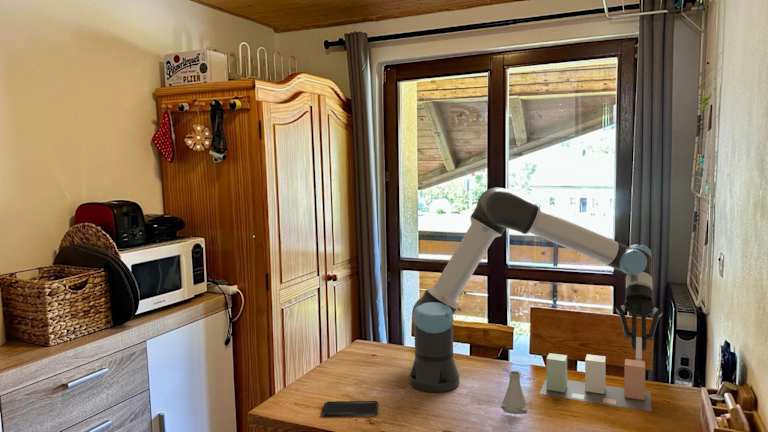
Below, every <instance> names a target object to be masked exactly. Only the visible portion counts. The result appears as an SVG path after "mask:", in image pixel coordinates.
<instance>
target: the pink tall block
mask: <svg viewBox="0 0 768 432" xmlns="http://www.w3.org/2000/svg"><path fill="white" fill-rule="evenodd" d="M623 376H624V380H623V381H624V385H623V386H624V387H623V388H624V397H627V398H634V399H640V400H645V391H646V361H645V360H642V361H639V360H636V359H629V358H624V375H623Z"/></svg>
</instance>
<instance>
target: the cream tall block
mask: <svg viewBox="0 0 768 432" xmlns="http://www.w3.org/2000/svg"><path fill="white" fill-rule="evenodd" d="M606 358H607V356H604V355H595V354H588V353H587V354H586V356H585V360H584V361H585V362H584V364H585V365H584V367H585V368H584V371H585V372H584V382H585V391H587V392H594V393H601V394H604V393H605V386H606V371H607V370H606V369H607V368H606V367H607V365H606V363H607V362H606V361H607V360H606Z"/></svg>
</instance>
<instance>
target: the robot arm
mask: <svg viewBox="0 0 768 432" xmlns="http://www.w3.org/2000/svg"><path fill="white" fill-rule="evenodd" d="M469 217H470V218H469V219H470V222H471V224H470V226H469V228H468V229H467V230H466V232H465V234H464V236H463V238H462V239H461V240H460V242H459V244H458V246H457V248H456V249H455V251H454V252H453V254H452V256H451V257H450V259H449V260H448V262H447V264H446V266H445V267H444V269H443V271H442V272H441V274H440V276H439V277H438V279H437V280H436V282H435V284H434V286H430V287H427V288H426V290H425V291H424V293H423V295H422V296H421V297H420V298H418V300H417V301H416V302H415V304H414V305H413V308H412V312H411V318H412V319H411V320H412V323H413V329H414V330H413V332H414V360H413V363H412V366H411V370H410V373H409V385H410V386H411V387H413V388H414V389H416V390H417V391H422V392H427V393H444V392H449V391H452V390H454V389H456V388H458V387H459V386H460V373H459V371H458V368H457V364H456V362H455V358H454V326H453V325H454V315H455V313H456V311H457V309H458V303H457V300H458V298H459V297H460V295H461V293H463V291H464V289H465V287H466V285H467V283H468V282H469V281H470V279H471V277H472V276H473V274H474V273H475V270H476V269H477V268H478V266H479V264H480V263H481V261H482V260H483V257H484V255H485V254H486V253H487V251H488V249H489V248H490V246H491V244H492V243H493V241H494V240H495V238H498V237H501V236H503V234H504V233H505V231H506V229H509V230H513V231H516V232H518V233H521V234H523V235H527V234H532V235H534V236H537V237H540V238H542V239H545V240H547V241H548V242H549V241H550V242H552V243H554V244H555V245H558V246H561V247H563V248H565V249H568V250H571V251H572V252H575V253H578V254H581V255H583V256H584V257H587V258H589V259H592V260H594V261H596V262H597V263H601V264H603V265H606V266H608V267H611V268H614V269H615V270H617V271H620V272H622V273H624V274H625V300H624V301H623V304H622V305H616V307H615V310H616V313H617V315H618V316H619V318H620V323H621V327H622V330H623V332H624V333H623V334H624V337H625V338H626V339H630V340H631V350H632V351H634V350H635V360H639V361H643V356H642V355H643V352H645V351H646V350H647V341H653V340H654V336H655V332H656V329H657V326H658V322H659V320H660V318H661V317H663V309H662V308H657V307H655V304H654V301H653V299H654V298H653V256H652V255H653V254H652V251H651V249H650V248H649V247H648V246H646V245H644V244H632V245H630V246H628V245H626V244H624V243H621V242H618V241H616V240H614V239H611V238H609V237H606V236H604V235H602V234H599V233H596V232H594V231H592V230H590V229H588V228H585V227H583V226H580V225H578V224H576V223H573V222H571V221H569V220H567V219H564V218H562V217H559V216H557V215H554V214H553V213H550V212H547V211H545V210H543V209H541V207H540V205H539V204H537V203H534V202H533V201H531V200H529V199H527V198H525V197H523V196H521V194H519V193H517V192H515V191H513V190H511V189H508V188H504V187H492V188H488V189H487V190H485V191H484V192H482V193H481V194H480V196H479V197H478V200H477V202H476V207H475V208H474V210H473V212H472V213H471V214H470V216H469ZM626 311H627V313H628V314H629V315H630V316H631V331H630V329H629V325H628V322H627V318H626V314H625V312H626ZM652 312H653V313H652ZM651 314H652V315H653V318H652V320H651V324H650V327H649V331H648V333H647V317H648V316H650V315H651ZM637 318H640V320H641V324H640V326H641V330H640V331H641V332H640V333H641V336H637Z"/></svg>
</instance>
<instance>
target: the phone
mask: <svg viewBox="0 0 768 432" xmlns="http://www.w3.org/2000/svg"><path fill="white" fill-rule="evenodd" d="M322 407H323V408H322V410H321V416H322V417H323V418H344V417H345V418H348V417H349V418H351V417H352V418H353V417H354V418H356V417H358V418H359V417H360V418H361V417H365V418H366V417H368V418H369V416H373V417H376V416H378V414H379V402H378V401H377V400H354V401H351V400H348V401H347V400H346V401H342V400H341V401H339V400H338V401H326V402H324V403H323V406H322Z"/></svg>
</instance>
